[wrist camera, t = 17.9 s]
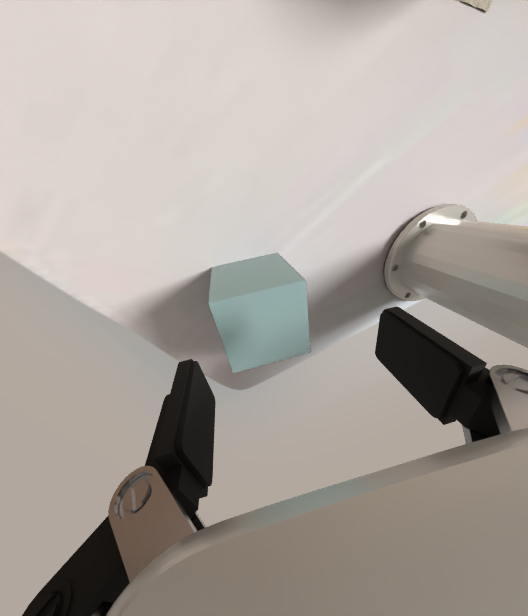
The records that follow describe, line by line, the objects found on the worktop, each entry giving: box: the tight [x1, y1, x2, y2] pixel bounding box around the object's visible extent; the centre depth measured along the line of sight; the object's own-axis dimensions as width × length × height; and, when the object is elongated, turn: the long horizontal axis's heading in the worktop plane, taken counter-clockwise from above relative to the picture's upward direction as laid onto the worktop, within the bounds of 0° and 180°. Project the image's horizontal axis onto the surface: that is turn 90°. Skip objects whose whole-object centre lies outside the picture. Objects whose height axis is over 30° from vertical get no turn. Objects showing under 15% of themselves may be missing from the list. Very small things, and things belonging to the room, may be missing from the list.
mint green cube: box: [208, 253, 310, 373], centre depth 21 cm, size 8×8×9 cm
